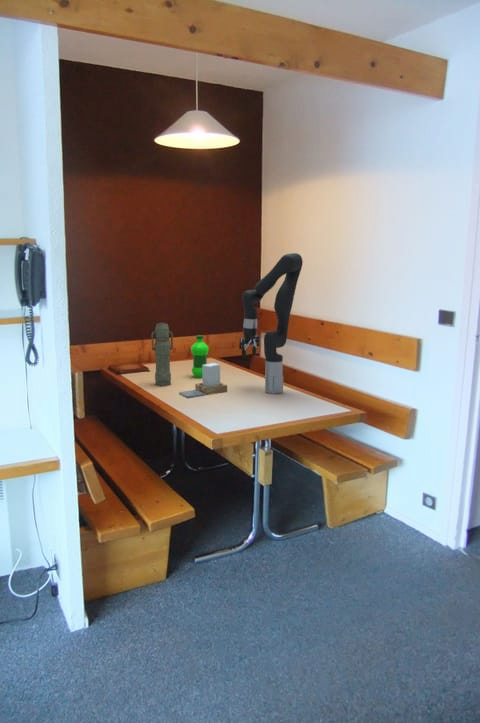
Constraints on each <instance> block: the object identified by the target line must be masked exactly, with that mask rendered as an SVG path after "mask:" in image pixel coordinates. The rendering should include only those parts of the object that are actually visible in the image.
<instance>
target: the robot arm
mask: <svg viewBox="0 0 480 723" xmlns="http://www.w3.org/2000/svg"><path fill="white" fill-rule="evenodd" d="M303 263H304V262H303V258H302V256H301V254H299V253H297V252H292V253H286V254H283V255H282V257H280V259H279V260H278V261H277V262H276V264H275V265H274V266H273V267H272V268H271V270H270V271H269V272H268V273H266V275H265V276H263V278H262V279H260V280H259V281H258V282H257V283H255V286H254V289H248V290H245V291H244V292H243V293H242V296H241V297H242V298H241V299H242V300H241V301H242V306H243V310H244V313H243V314H244V316H243V318H244V319H243V328H242V329H243V330H242V334H243V338H242V337H240V338H239V346H238V349H240V350H241V357H243V358H246V357H247V348H248V347H249V346H251V347H252V348H251V350H252V351H251V355H253V356H255V355H257V348H258V347H260V336H259V335H258V309H257V308H256V307H254V304H256V303H259V302H260V301H261V300H262V299H263V298H264V296H265V294H267V293H268V292H269V291H270V290H271V289H273V288H274V287H275V285H276V283H277V282H278V280H279V279H280V278H281V277H283V276H284V275H285V276H284V280H283V282H282V284H281V285H280V287H279V288H278V291H277V293H276V295H275V299H274V305H273V308H274V312H275V315H276V317H277V325H276V329H275V330H272V331H271V330H270V331H267V332H266V333H265V334H264V337H263V352H264V358H265V362H264V363H265V366H264V367H265V371H264V372H265V373H264V374H265V376H264V391H265V393H267V394H273V395H276V394H283V392H284V375H283V363H284V362H283V361H284V360H283V359H284V357H283V355H282V354H281V353H278V352H277V349H279V348H282V347H285V345H286V342H287V340H288V339H287V338H288V331H289V322H290V316H291V312H292V308H293V304H294V297H295V295H296V288H297V284H298V280H299V278H300V274H301V270H302V268H303Z"/></svg>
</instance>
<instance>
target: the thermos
mask: <svg viewBox="0 0 480 723" xmlns="http://www.w3.org/2000/svg"><path fill="white" fill-rule="evenodd" d="M154 335H155V340H154ZM169 338H170V339H169ZM154 341H155V343H154ZM151 350H152V351H153V352H154V355H155V372H154V373H155V374H154V380H155V386H158V387H168V386H171V385H172V382H171V381H172V373H171V362H170V361H171V360H170V359H171V357H170V355H171V351H172V350H174V334H173V332H172V331H170V328H169V325H168V323H166V322H158V323H156V325H155V329H154V331H152V332H151Z"/></svg>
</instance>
